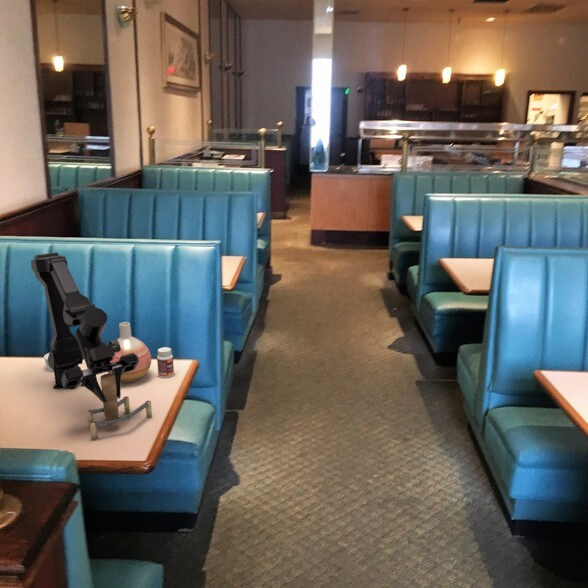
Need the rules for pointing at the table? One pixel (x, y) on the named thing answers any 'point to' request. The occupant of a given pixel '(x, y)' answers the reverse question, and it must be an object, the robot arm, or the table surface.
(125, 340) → the vase
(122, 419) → the wire course
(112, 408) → the walnut peg
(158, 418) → the table surface
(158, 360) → the pill bottle
